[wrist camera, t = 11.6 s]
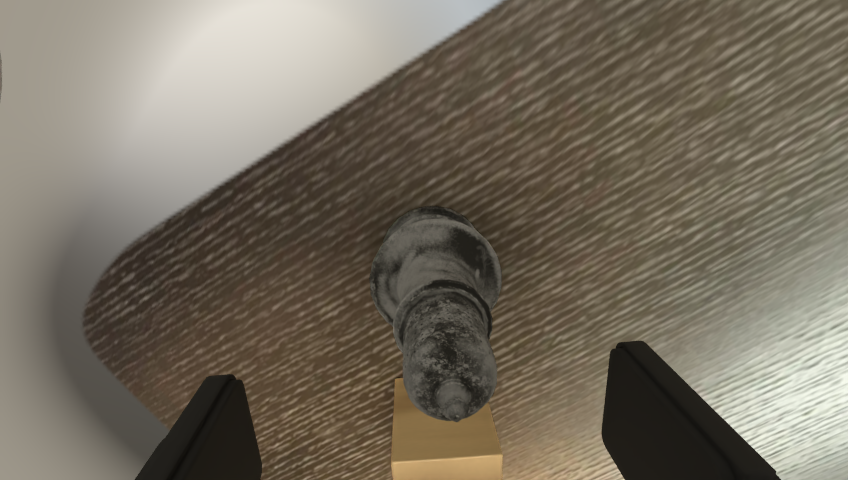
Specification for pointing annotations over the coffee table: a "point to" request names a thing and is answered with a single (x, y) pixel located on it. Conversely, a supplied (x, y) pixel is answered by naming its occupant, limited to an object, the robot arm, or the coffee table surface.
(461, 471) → the maple block
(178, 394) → the coffee table surface
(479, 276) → the grey chess bishop
